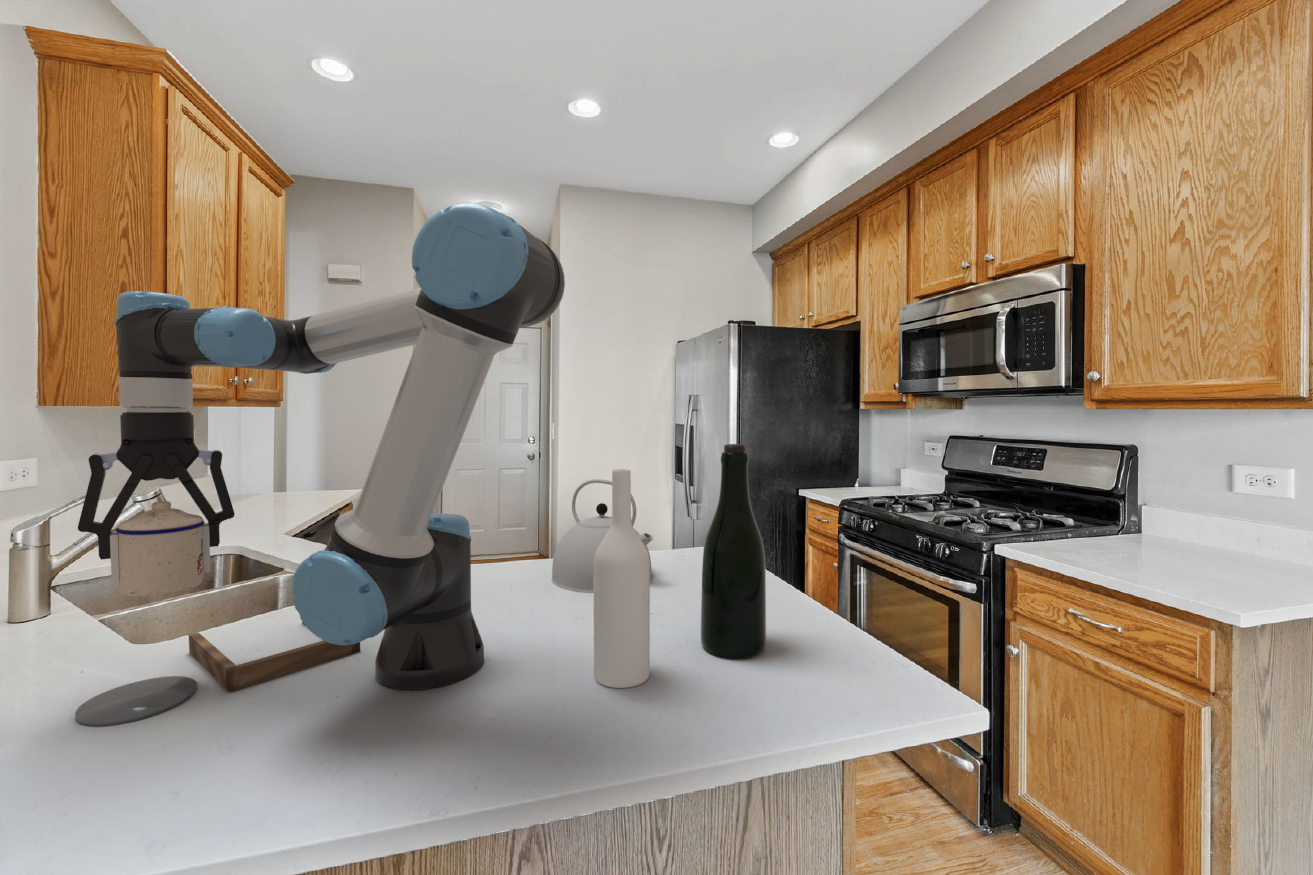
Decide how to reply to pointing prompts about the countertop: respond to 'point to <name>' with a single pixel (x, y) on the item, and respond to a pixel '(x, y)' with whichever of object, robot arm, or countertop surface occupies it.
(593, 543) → the kettle
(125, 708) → the coaster
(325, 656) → the wooden tray
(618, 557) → the bottle
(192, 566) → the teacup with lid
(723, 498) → the dark green wine bottle
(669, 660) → the countertop surface
